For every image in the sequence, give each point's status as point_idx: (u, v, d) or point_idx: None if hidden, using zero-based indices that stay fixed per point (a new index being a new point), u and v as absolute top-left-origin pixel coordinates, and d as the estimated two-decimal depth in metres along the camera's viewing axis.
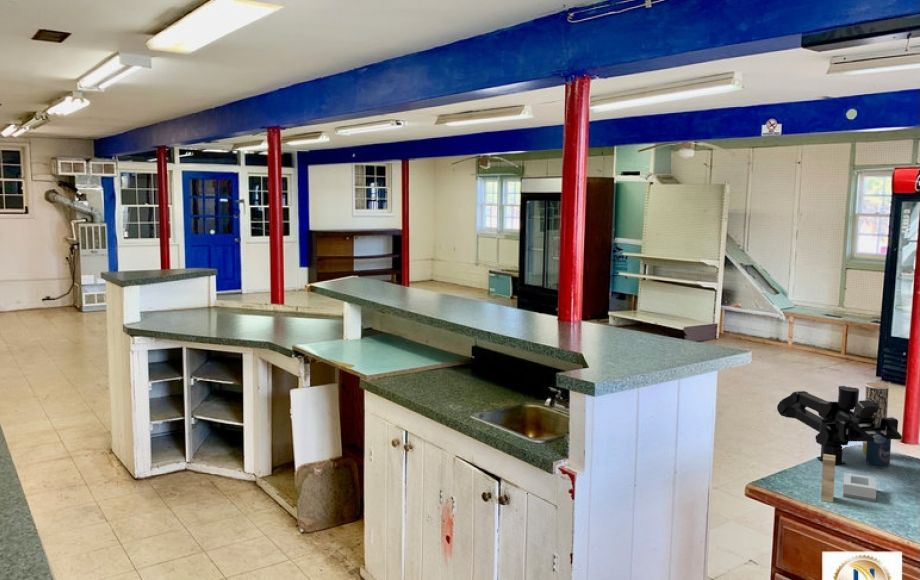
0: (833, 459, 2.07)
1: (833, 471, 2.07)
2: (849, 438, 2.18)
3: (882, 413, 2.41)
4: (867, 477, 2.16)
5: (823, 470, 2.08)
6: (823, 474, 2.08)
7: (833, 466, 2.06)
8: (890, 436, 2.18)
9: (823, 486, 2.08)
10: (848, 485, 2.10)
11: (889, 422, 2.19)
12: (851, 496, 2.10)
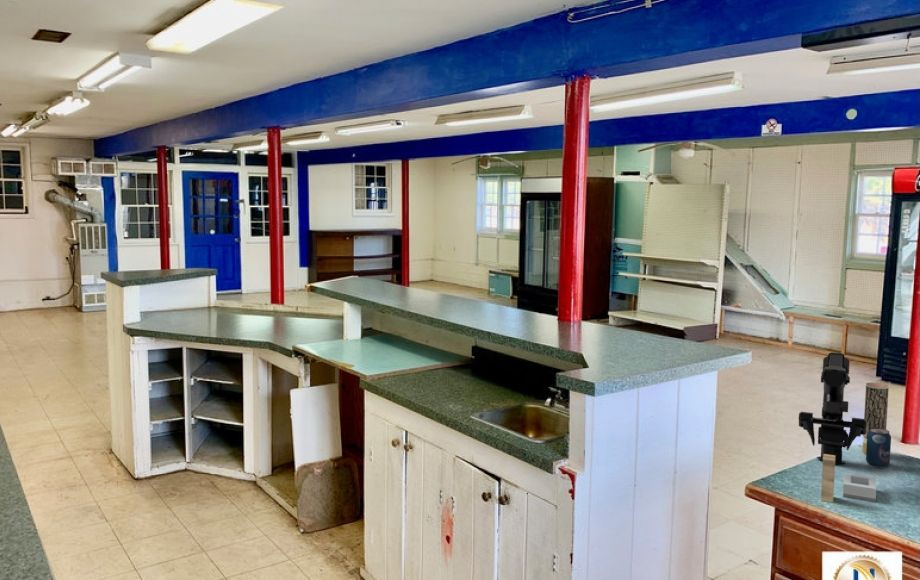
0: (833, 459, 2.07)
1: (833, 471, 2.07)
2: (804, 428, 2.24)
3: (882, 413, 2.41)
4: (867, 477, 2.16)
5: (823, 470, 2.08)
6: (823, 474, 2.08)
7: (833, 466, 2.06)
8: None
9: (823, 486, 2.08)
10: (848, 485, 2.10)
11: (851, 427, 2.14)
12: (851, 496, 2.10)
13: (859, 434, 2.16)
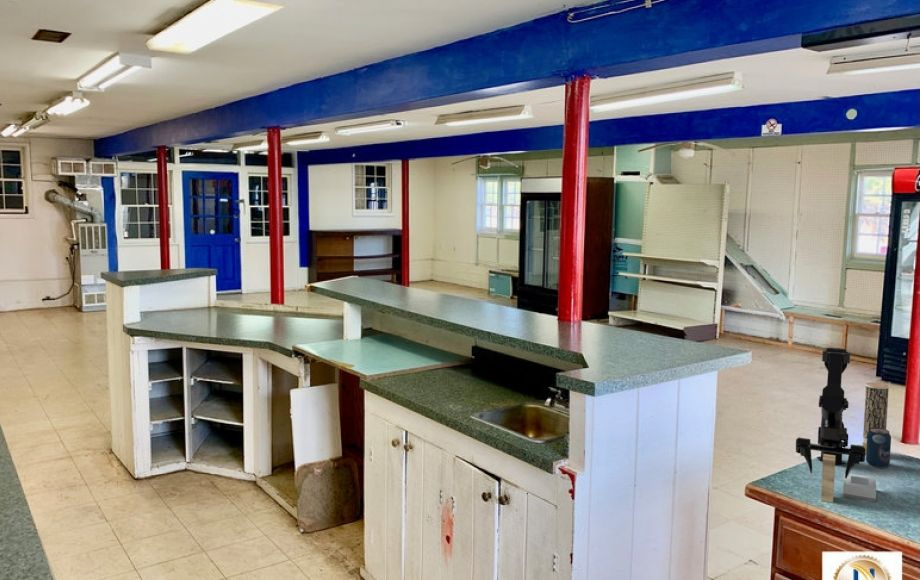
0: (833, 459, 2.07)
1: (833, 471, 2.07)
2: (801, 454, 2.17)
3: (882, 413, 2.41)
4: (867, 477, 2.16)
5: (823, 470, 2.08)
6: (823, 474, 2.08)
7: (833, 466, 2.06)
8: None
9: (823, 486, 2.08)
10: (848, 485, 2.10)
11: (850, 454, 2.08)
12: (851, 496, 2.10)
13: (858, 461, 2.10)
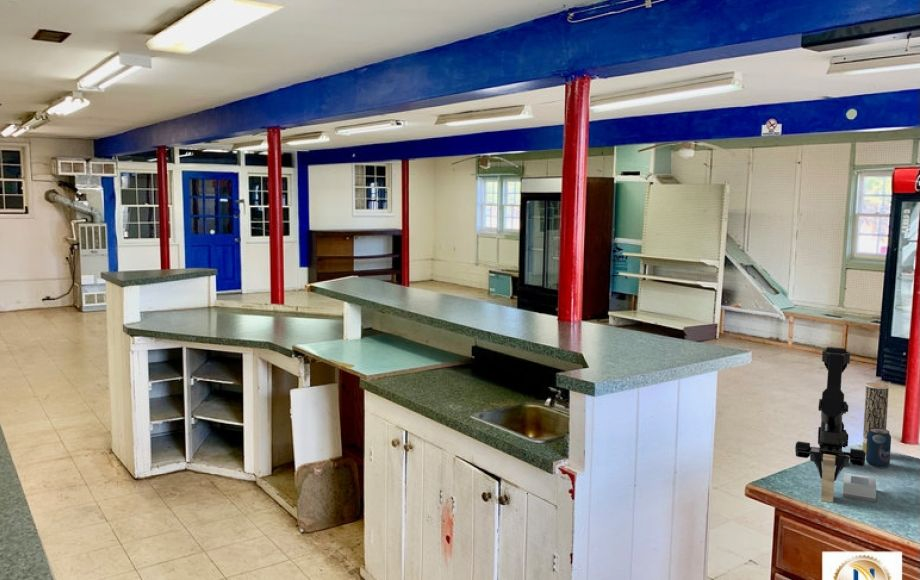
0: (833, 459, 2.07)
1: (833, 471, 2.07)
2: (811, 459, 2.15)
3: (882, 413, 2.41)
4: (867, 477, 2.16)
5: (823, 470, 2.08)
6: (823, 474, 2.08)
7: (833, 465, 2.06)
8: None
9: (823, 486, 2.08)
10: (848, 485, 2.10)
11: (839, 457, 2.08)
12: (851, 496, 2.10)
13: (847, 464, 2.10)
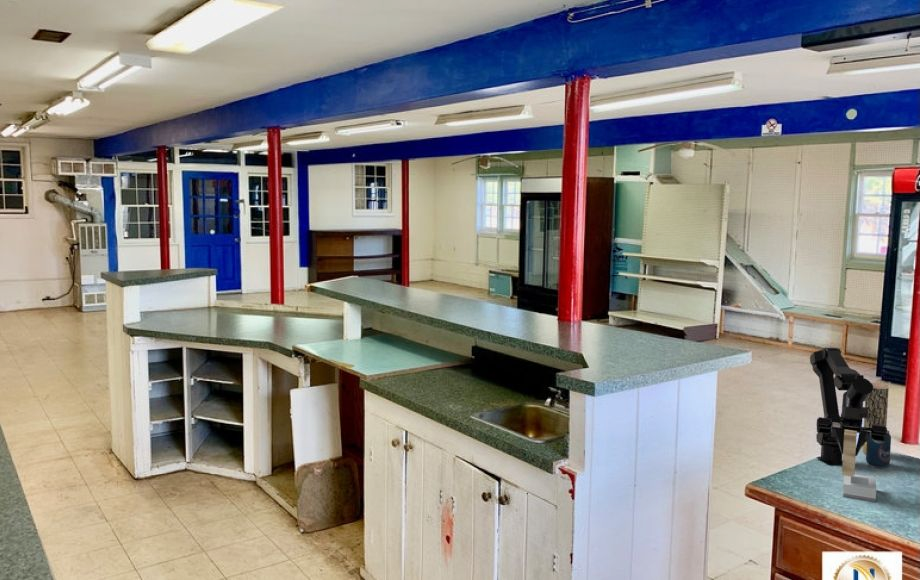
0: (854, 434, 2.08)
1: (854, 446, 2.08)
2: (832, 435, 2.17)
3: (882, 413, 2.41)
4: (867, 477, 2.16)
5: (844, 445, 2.10)
6: (844, 449, 2.10)
7: (854, 441, 2.08)
8: None
9: (844, 461, 2.10)
10: (848, 485, 2.10)
11: (860, 432, 2.10)
12: (851, 496, 2.10)
13: (868, 439, 2.12)
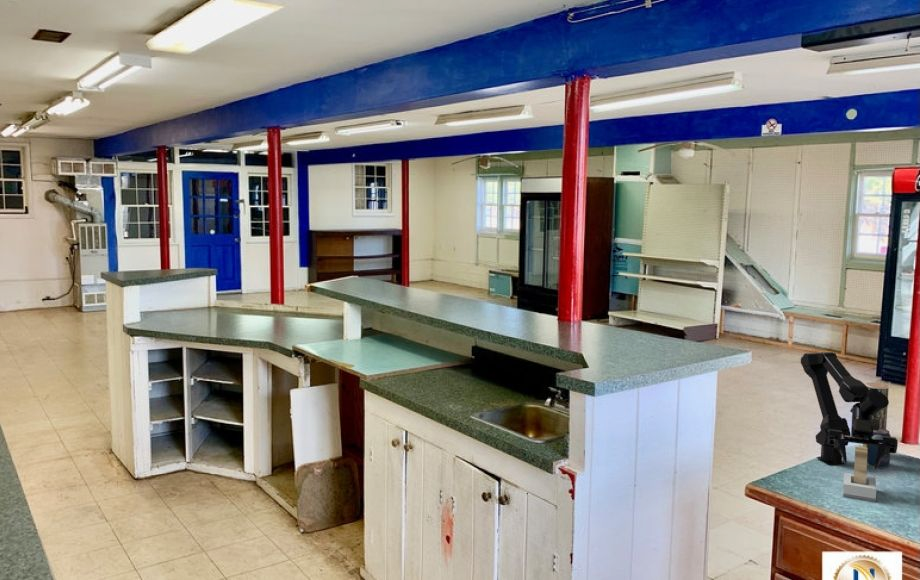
0: (865, 451, 2.10)
1: (865, 463, 2.10)
2: (835, 446, 2.20)
3: (882, 413, 2.41)
4: (867, 477, 2.16)
5: (855, 462, 2.11)
6: (855, 465, 2.11)
7: (865, 457, 2.10)
8: None
9: (855, 477, 2.12)
10: (848, 485, 2.10)
11: (880, 445, 2.11)
12: (851, 496, 2.10)
13: (887, 452, 2.12)
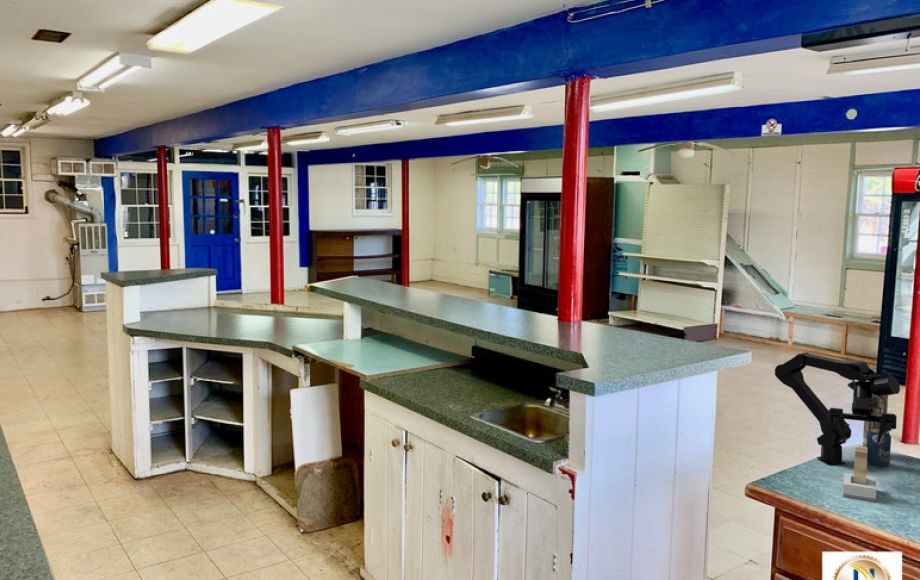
0: (865, 451, 2.10)
1: (865, 463, 2.10)
2: (834, 423, 2.28)
3: None
4: (867, 477, 2.16)
5: (855, 462, 2.11)
6: (855, 465, 2.11)
7: (865, 457, 2.10)
8: None
9: (855, 477, 2.12)
10: (848, 485, 2.10)
11: (881, 422, 2.18)
12: (851, 496, 2.10)
13: (890, 429, 2.19)
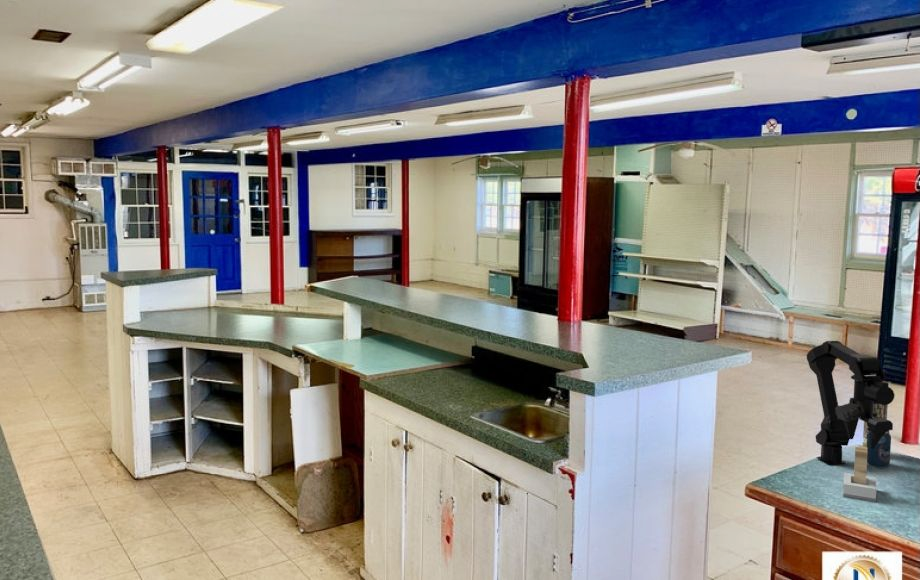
0: (865, 451, 2.10)
1: (865, 463, 2.10)
2: None
3: (882, 413, 2.41)
4: (867, 477, 2.16)
5: (855, 462, 2.11)
6: (855, 465, 2.11)
7: (865, 457, 2.10)
8: None
9: (855, 477, 2.12)
10: (848, 485, 2.10)
11: (868, 430, 2.16)
12: (851, 496, 2.10)
13: None
